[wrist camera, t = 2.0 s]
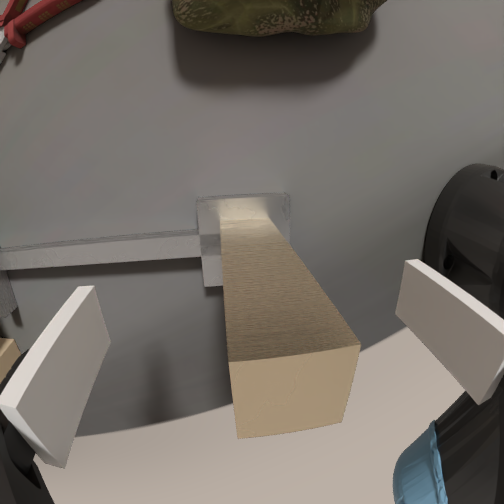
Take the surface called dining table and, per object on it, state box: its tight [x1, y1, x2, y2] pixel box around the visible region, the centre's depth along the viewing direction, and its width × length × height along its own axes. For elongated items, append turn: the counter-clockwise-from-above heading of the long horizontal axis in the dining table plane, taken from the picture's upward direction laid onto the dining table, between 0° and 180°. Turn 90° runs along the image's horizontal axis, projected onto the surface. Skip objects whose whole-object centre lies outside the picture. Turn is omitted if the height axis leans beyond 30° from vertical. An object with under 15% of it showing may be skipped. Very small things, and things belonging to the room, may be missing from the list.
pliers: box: [0, 0, 82, 64], centre depth 11 cm, size 11×20×3 cm, turn 134°
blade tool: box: [0, 193, 361, 439], centre depth 13 cm, size 26×10×15 cm, turn 92°
